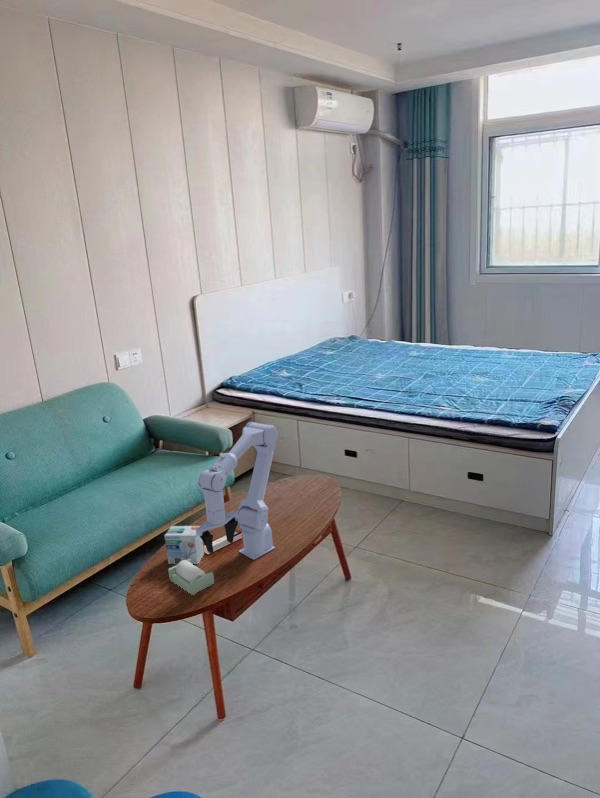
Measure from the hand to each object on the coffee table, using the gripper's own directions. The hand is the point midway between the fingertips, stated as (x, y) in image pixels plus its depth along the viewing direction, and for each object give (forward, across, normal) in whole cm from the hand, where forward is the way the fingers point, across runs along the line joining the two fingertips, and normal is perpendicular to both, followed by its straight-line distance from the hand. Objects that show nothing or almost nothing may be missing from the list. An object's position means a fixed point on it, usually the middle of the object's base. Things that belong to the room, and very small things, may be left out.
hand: (220, 546), depth 183 cm
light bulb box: (+10, +3, -17) cm, 20 cm away
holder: (+10, +9, -4) cm, 14 cm away
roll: (+6, +9, -4) cm, 12 cm away
